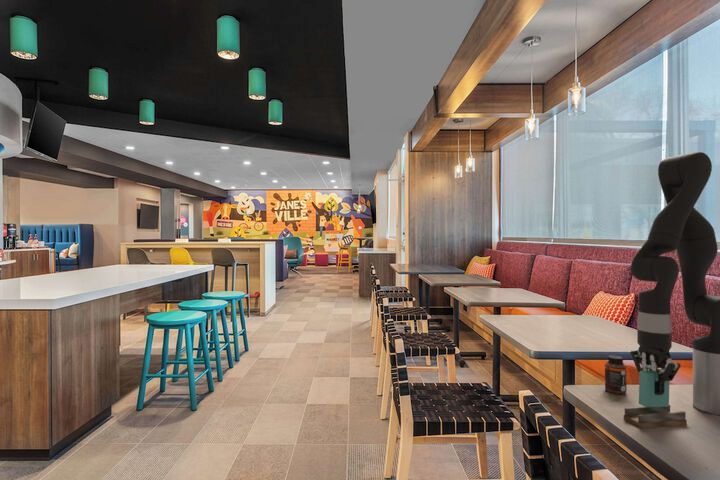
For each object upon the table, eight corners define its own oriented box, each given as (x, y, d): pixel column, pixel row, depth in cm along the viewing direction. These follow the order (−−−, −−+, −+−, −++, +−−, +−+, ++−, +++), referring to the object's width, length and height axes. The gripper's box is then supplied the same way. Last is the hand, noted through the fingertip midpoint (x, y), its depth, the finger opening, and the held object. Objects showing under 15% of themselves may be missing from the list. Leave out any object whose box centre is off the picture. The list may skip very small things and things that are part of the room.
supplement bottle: (630, 395, 126) (629, 360, 126) (609, 394, 127) (609, 358, 127) (621, 388, 132) (621, 354, 132) (602, 387, 133) (601, 353, 133)
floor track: (667, 415, 112) (667, 404, 112) (686, 424, 106) (686, 412, 106) (623, 419, 109) (623, 407, 109) (641, 428, 104) (641, 416, 104)
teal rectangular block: (660, 402, 109) (661, 370, 109) (668, 406, 107) (669, 373, 107) (638, 403, 108) (639, 370, 108) (646, 407, 106) (647, 373, 106)
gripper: (690, 334, 102) (690, 402, 101) (644, 323, 115) (644, 383, 115) (665, 335, 100) (665, 403, 100) (621, 324, 114) (621, 384, 114)
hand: (654, 392), depth 108 cm, fingers closed on teal rectangular block, 2 cm apart
